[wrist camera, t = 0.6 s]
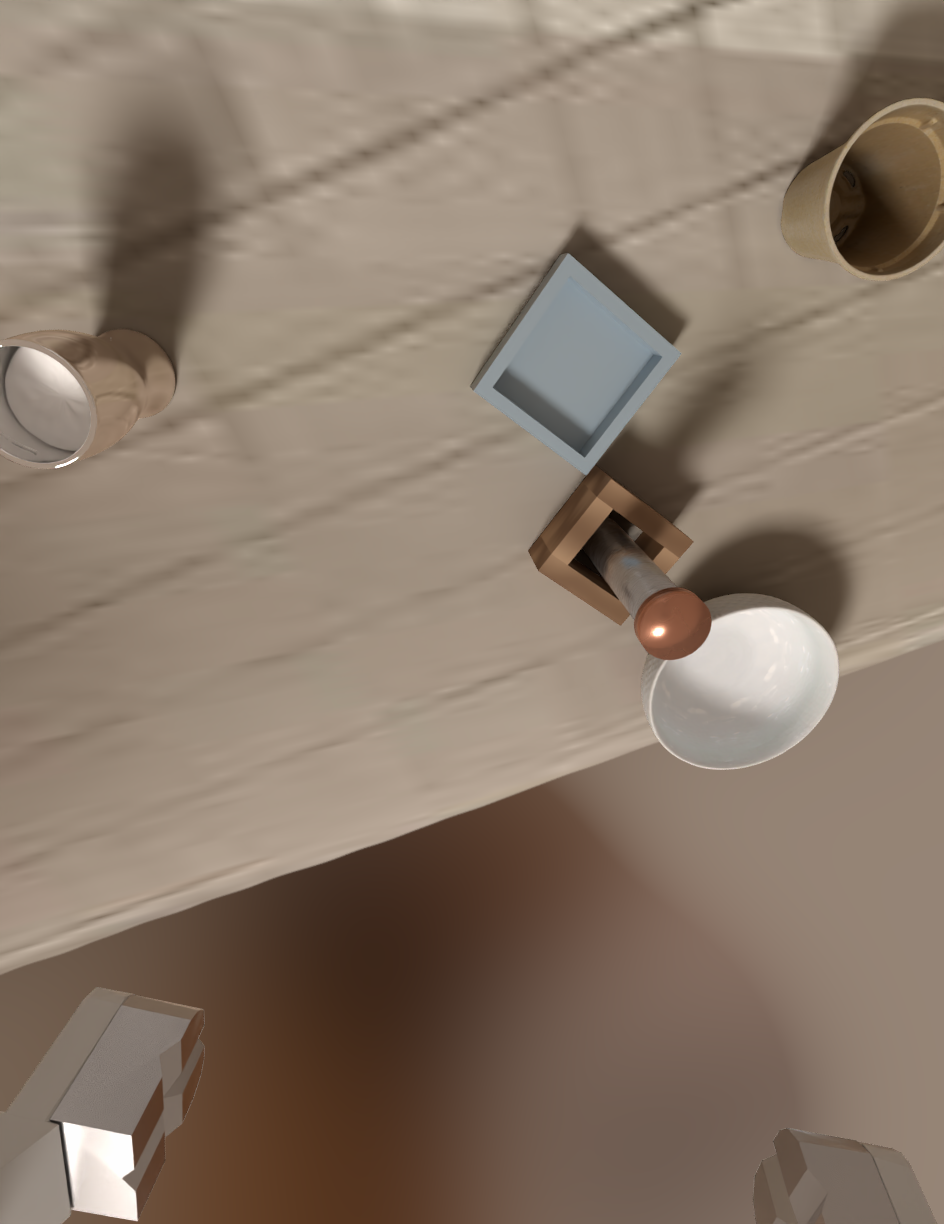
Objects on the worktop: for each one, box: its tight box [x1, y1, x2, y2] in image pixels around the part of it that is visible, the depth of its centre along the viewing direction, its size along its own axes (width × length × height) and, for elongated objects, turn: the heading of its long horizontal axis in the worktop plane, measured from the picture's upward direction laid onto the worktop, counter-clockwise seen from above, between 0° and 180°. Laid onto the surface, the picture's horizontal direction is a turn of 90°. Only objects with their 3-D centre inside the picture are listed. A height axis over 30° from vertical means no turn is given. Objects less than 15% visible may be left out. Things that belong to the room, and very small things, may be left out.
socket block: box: [528, 465, 693, 626], centre depth 55 cm, size 9×9×4 cm
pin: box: [582, 518, 712, 660], centre depth 50 cm, size 5×5×17 cm
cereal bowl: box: [641, 593, 839, 770], centre depth 61 cm, size 17×17×7 cm
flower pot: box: [781, 98, 944, 281], centre depth 44 cm, size 9×9×9 cm
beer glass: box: [0, 329, 175, 469], centre depth 41 cm, size 7×7×15 cm
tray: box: [470, 253, 681, 475], centre depth 50 cm, size 11×11×2 cm
